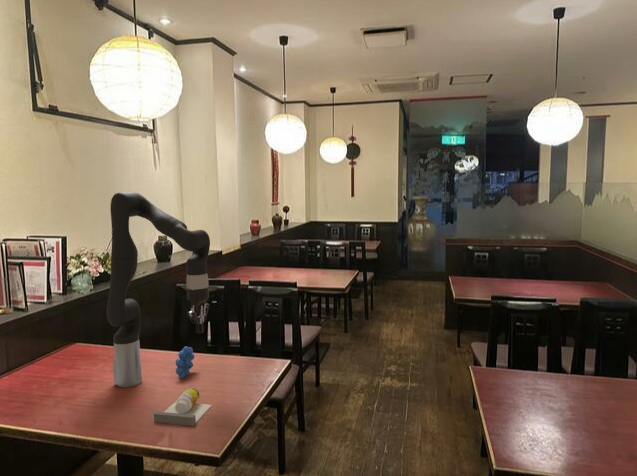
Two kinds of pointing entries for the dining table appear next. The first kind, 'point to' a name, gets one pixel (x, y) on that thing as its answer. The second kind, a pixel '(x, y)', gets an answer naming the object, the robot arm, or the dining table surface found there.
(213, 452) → the dining table surface
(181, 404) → the supplement bottle
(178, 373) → the grapes
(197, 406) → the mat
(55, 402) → the dining table surface
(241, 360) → the dining table surface
